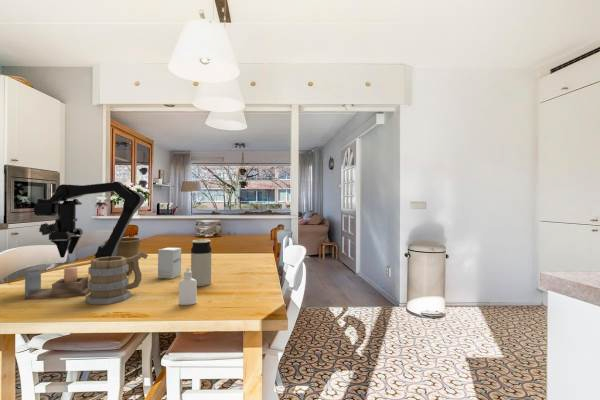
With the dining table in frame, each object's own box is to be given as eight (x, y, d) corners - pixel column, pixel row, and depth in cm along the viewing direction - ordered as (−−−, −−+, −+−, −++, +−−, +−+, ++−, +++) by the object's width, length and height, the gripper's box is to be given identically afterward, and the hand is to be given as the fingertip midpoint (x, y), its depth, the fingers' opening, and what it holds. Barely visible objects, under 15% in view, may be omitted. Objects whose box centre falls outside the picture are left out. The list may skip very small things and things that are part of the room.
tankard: (94, 307, 108) (95, 260, 108) (81, 299, 116) (82, 255, 116) (155, 294, 123) (156, 253, 123) (140, 288, 131) (140, 249, 131)
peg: (78, 288, 126) (78, 267, 126) (75, 291, 122) (75, 269, 122) (66, 289, 124) (66, 267, 124) (62, 292, 121) (62, 269, 121)
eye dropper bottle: (184, 300, 115) (184, 266, 115) (198, 302, 114) (199, 266, 114) (176, 304, 111) (176, 268, 111) (191, 306, 109) (191, 269, 109)
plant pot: (108, 271, 160) (108, 237, 160) (142, 269, 165) (142, 237, 165) (100, 278, 146) (100, 241, 146) (137, 276, 151) (138, 240, 151)
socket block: (93, 288, 130) (93, 262, 130) (85, 295, 120) (85, 267, 120) (37, 291, 124) (37, 264, 124) (24, 299, 115) (25, 270, 115)
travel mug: (190, 287, 133) (190, 241, 133) (191, 282, 140) (191, 239, 140) (211, 286, 135) (211, 241, 135) (210, 281, 142) (211, 239, 142)
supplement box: (172, 279, 146) (172, 250, 146) (157, 278, 148) (157, 249, 148) (181, 275, 153) (181, 247, 153) (167, 274, 155) (167, 247, 155)
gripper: (52, 215, 139) (51, 252, 139) (32, 217, 122) (31, 260, 122) (83, 215, 143) (82, 251, 143) (67, 217, 125) (67, 259, 125)
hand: (66, 255), depth 133 cm, fingers open, 9 cm apart
